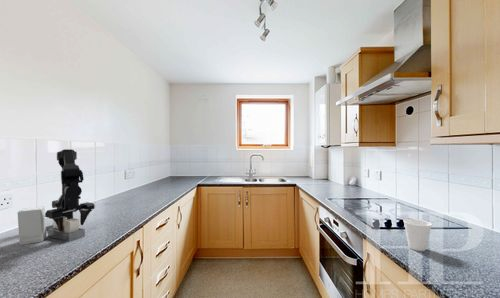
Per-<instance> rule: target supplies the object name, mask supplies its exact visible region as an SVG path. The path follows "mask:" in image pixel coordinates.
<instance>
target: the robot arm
mask: <svg viewBox="0 0 500 298" xmlns="http://www.w3.org/2000/svg"><path fill="white" fill-rule="evenodd" d="M77 158H78V156H77V151H76V150H74V149H67V148H65V149H62V150H60V151H57V152H56V161H58V165H59V166H60V167H61V170H60V182H61V195H60V196H59V197H58V199H57V200H52V201H51V208H52V209H48V210H46V212H45V218H48V219H52V221H53V220H54V221H55V223H56V224H57V227H58V229H59V231H62V229H63V217H67V220H69V219H73V218H74V213H76V212H77V211H79V213H80V219H79V224H80V226H84V224H85V222H86V220H87V218H88V216H89V215H90V213H91V212H92V211H93V210H95V208H96V207H95V203H93V202H88V201H86V202H82V203H80V200H81V196H80V195H81V194H82V187H81V186H80V185H79V184H80V183H83V181H84V180H85V179H84V173H83V171H82V169H80V166H79V165H78V164H76V161H77ZM61 216H63V217H61Z"/></svg>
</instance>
